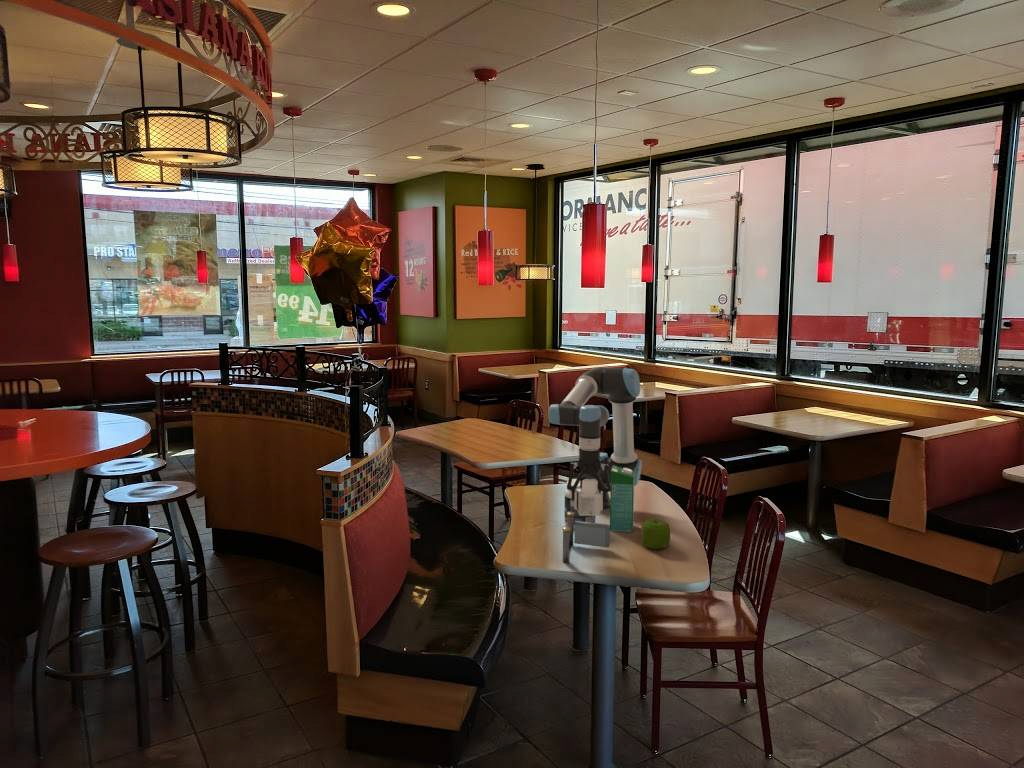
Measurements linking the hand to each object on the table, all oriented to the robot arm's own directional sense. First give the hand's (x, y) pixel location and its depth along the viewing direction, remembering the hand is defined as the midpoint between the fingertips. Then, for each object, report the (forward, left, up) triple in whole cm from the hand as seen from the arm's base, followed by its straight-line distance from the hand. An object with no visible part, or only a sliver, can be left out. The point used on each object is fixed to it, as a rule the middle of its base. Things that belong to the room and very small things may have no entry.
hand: (588, 508), depth 263 cm
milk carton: (-31, +12, -17) cm, 37 cm away
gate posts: (+1, -7, -17) cm, 19 cm away
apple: (-12, +25, -17) cm, 33 cm away
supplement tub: (-31, -5, -17) cm, 36 cm away
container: (0, 0, -1) cm, 1 cm away
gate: (-6, +1, -16) cm, 17 cm away
